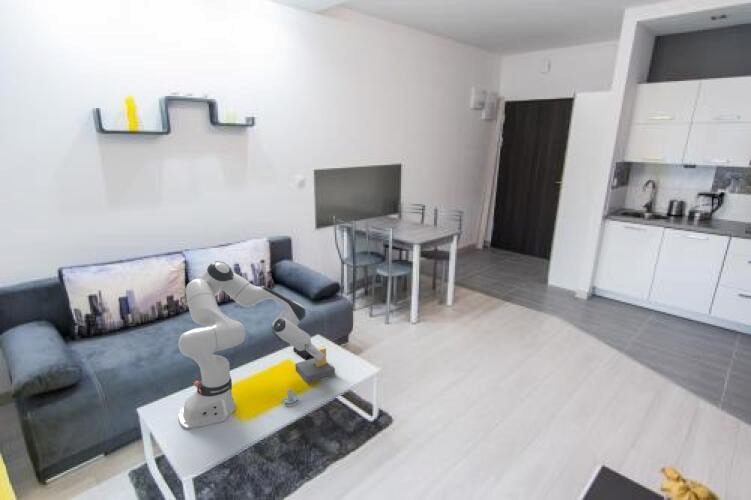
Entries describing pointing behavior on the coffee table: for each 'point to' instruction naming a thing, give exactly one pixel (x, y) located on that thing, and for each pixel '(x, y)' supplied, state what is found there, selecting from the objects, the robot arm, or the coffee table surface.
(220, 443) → the coffee table surface
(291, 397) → the pacifier
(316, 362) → the tall tan cardboard box
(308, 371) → the grey slotted base
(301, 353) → the carrying case or bag
